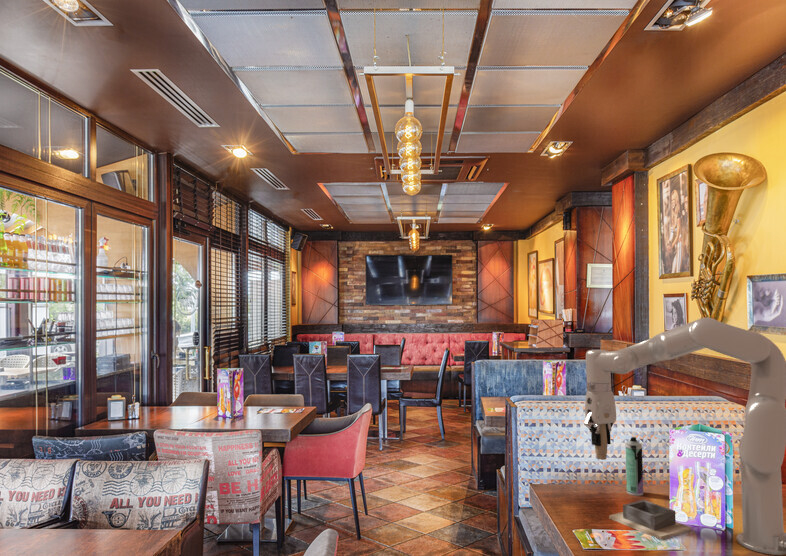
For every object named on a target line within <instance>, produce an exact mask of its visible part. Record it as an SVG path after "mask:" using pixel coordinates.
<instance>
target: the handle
mask: <svg viewBox="0 0 786 556" xmlns="http://www.w3.org/2000/svg"><path fill="white" fill-rule="evenodd" d="M608 417H609V413H606V414H604V418H608ZM594 427H595V428H596V425H594ZM599 434H600V435H601V446H596V445H594V451H595V457H596V460H601V461H603V460H604V461H606V460H607V455H608V444H607V433H606V424H601V425H600V427H599Z"/></svg>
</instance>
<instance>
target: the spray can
mask: <svg viewBox="0 0 786 556" xmlns="http://www.w3.org/2000/svg"><path fill="white" fill-rule="evenodd" d="M643 462H644V461H643V445H642V443H640V442H639V440H637V437H636V436H631V437H630V440H629V441H628V442H626V443H625V467H626V468H625V469H626V470H625V471H626V494H628V495H631V496H636V497H637V496H638V497H640V496H643V495H644V470H643V469H644V468H643V465H644V464H643Z"/></svg>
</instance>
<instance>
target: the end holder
mask: <svg viewBox="0 0 786 556" xmlns="http://www.w3.org/2000/svg"><path fill="white" fill-rule="evenodd" d="M608 517H609V518H608V519H609V520H612V521H614V522H617V523H619V524H621V525H624V526H627V527H628V528H631V529H634V530H637V531H638V532H640V533H643V534H646V535H647V536H650V535H651V537H653V536H654V537H653V538H655V537H656V538H655V539H658V540H660V541H663V540H666V539H668V538H672V537H676V536H679V535H681V534H684V533H688V532H691V531H692V527H691V526H689V525H687V524H683V523H680V522H679V521H676V510H674V509H671V508H668V507H666V506H662V505H660V504H657V503H654V502H652V501H648V500H645V499H642V500H636V501H633V502H630V503H626V504H625V503H624V504H623V505H622V512H617V513H613V514H609V516H608ZM665 538H666V539H665ZM662 539H663V540H662Z"/></svg>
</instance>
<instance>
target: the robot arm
mask: <svg viewBox="0 0 786 556" xmlns="http://www.w3.org/2000/svg"><path fill="white" fill-rule="evenodd" d="M703 349H708V350H709V351H713V352H716V353H719V354H721V355H725V356H727V357H731V358H734V359H736V360H740V361H743V362H745V363H746V362H747V363H749V365H750V368H751V372H750V373H751V375H750V382H749V384H750V385H749V392H748V396H747V402H746V405H745V409H744V411H745V416H744V417H745V418H744V427H743V434H742V436H741V438H740V440H739V445H738V447H739V459H740V460H739V462H740V483H741V485H740V487H741V488H740V489H741V491H740V493H741V515H742V518H741V519H742V532H740V533H739V534H737V535H736V541H737V543H739V544H740V545H741V546H742V547H744V548H746V549H748V550H751V551H754V552H757V553H762V554H766V555H773V556H785V555H786V532H784V531H785V530H784V513H783V512H784V511H783V483H782V468H781V467H782V465H783V462H784V459H785V453H786V451H785V450H786V358H785V356H784V354H783V353H782V351H781V349H780V348H779V347H778V346H777V345H776V344H775V343H774V342H773V341H772V340H770V339H769V338H768V337H767V336H764V335H763V334H762V333H759V332H757V331H752V330H747V329H744V328H741V327H738V326H735V325H731V324H729V323H725V322H722V321H719V320H717V319H715V318H712V317H701V318H698V319H695V320H693V321H690V322H688V323H685V324H682V325H679V326H676V327H674V328H671V329H668V330H666V331H663V332H660V333H657V334H655V335H654V336H652V337H650V338H649V339H645V340H643V341H640V342H638V343H635V344H633V345H629V346H626V347H624V348H621V349H618V350H613V351H611V350H610V351H609V350H606V349H588V350H587V351H586V353H585V372H586V373H585V374H586V377H585V378H586V394H585V402H584V403H585V404H584V405H585V407H584V416H585V417H584V418H585V420H584V426H585V427H586V428H588V430H589V432H590V435H591V445H592V446H595V445H596V446H601V435H600V434H599V427H600V425H601V424H606V433H607V445H611V444H612V443H611V440H612V439H611V432H612V427H613V426H614V424H615V422H617V408H616V401H615V396H614V392H613V391H612V378H611V377H612V376H611V373H612V374H617V375H618V374H619V375H626V374H628V373H630V372H632V371H634V370H637V369H639V368H642V367H646V366H647V365H648V366H649V365H651V364H655V363H658V362H662V361H669V360H675V359H677V358H680V357H683V356H686V355H688V354H691V353H695V352H697V351H700V350H703ZM606 413H609V417H608V418H604V414H606ZM595 425H596V428H595Z"/></svg>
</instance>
